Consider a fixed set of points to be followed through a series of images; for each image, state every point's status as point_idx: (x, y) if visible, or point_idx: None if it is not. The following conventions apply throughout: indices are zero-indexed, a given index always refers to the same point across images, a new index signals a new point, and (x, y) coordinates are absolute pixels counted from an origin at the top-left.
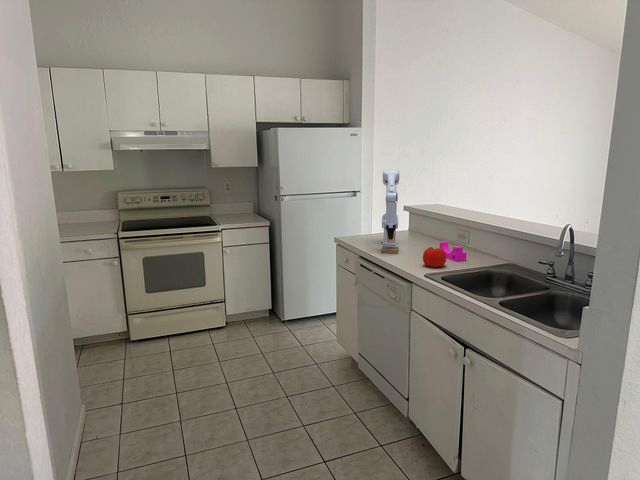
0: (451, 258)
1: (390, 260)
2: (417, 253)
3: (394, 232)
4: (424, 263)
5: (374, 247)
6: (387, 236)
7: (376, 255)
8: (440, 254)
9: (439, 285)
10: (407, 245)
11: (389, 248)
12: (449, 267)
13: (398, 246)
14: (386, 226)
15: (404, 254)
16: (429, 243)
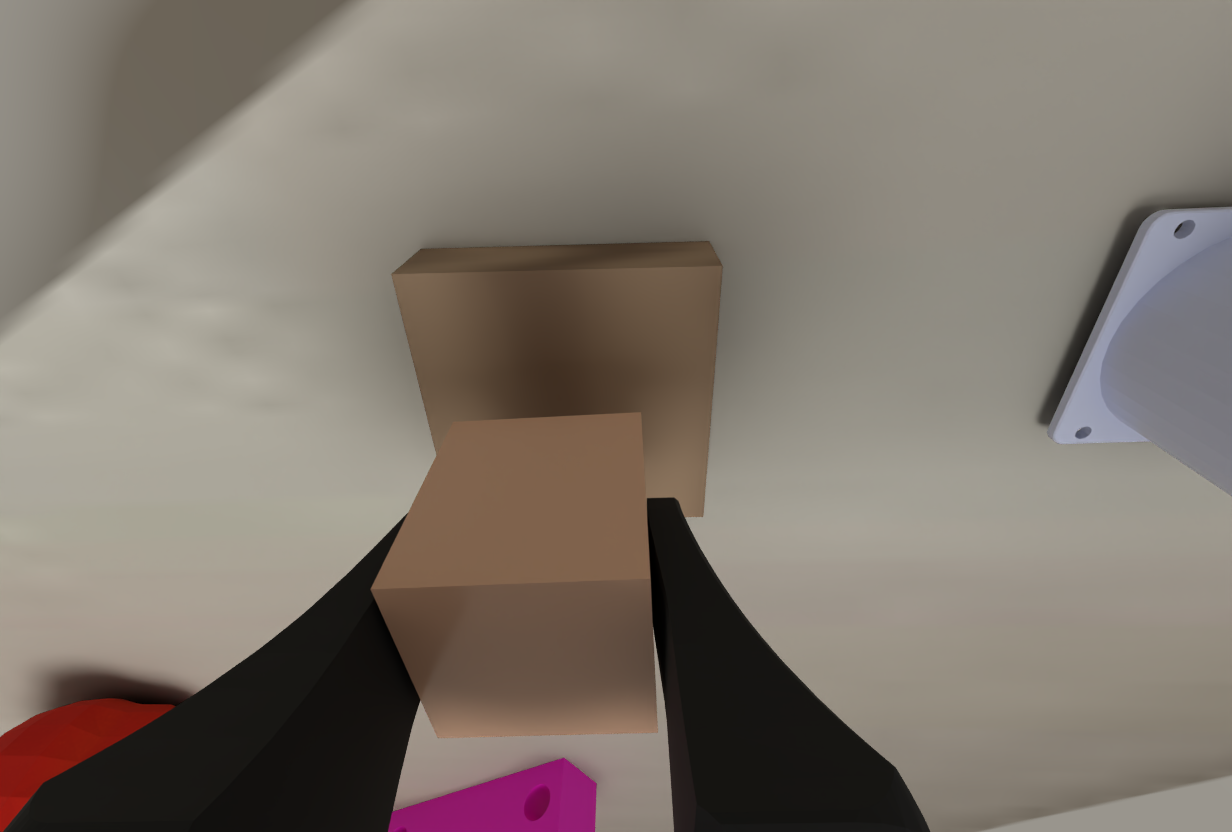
0: (420, 816)
1: (87, 403)
2: None
3: (604, 722)
4: (64, 706)
5: (986, 32)
6: (411, 529)
7: (272, 160)
8: None
9: None
10: (1034, 553)
11: (523, 400)
12: None
13: (702, 513)
14: (689, 779)
15: None
16: (1083, 717)
